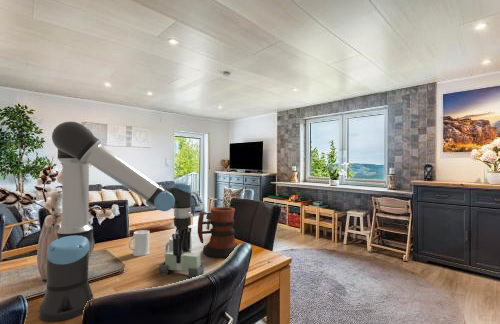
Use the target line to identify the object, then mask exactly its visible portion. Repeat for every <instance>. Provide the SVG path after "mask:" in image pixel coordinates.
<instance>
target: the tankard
mask: <svg viewBox="0 0 500 324" xmlns="http://www.w3.org/2000/svg"><path fill="white" fill-rule="evenodd" d="M235 211H236V209H235V208H234V207H228V206H215V207H211V208H210V215H211V216H210V217H211V219H210V221H204V217H205V211H203V210H202V211H199V214H198V215H199V216H198V219H197V220H198V221H197V236H198V238H199V241H200V243H201V244H204V237H203V236H204V235H206V234H207V235H208V234H211V235H210V238H209V241H208V242H207V243H206V244H205V245H204V246H203V248H202V255H204V256H205V257H207V258H212V259H215V260H216V259H219V260H220V259H226V258H227V257H228V256H229V254H230V253H231V252H232V251H233V250H234V248H235V247H236V246H237V245H239V244H238V243H237V242H236V239H235V228H233V226H234V225H235V219H234V217H235ZM204 225H212V228H210V229H209V230H204V229H203V227H204ZM227 259H228V258H227Z"/></svg>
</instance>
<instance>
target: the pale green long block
mask: <svg viewBox="0 0 500 324" xmlns="http://www.w3.org/2000/svg"><path fill="white" fill-rule="evenodd" d="M182 255H183V270H176V256H174V255H173V252H172V251H169V250H168V252H167V253H166V252H165V253H164V262H165V265H168V271H169V270H170V271H178V272H179V271H180V272H187V273H189V268H190V269H198V268H199V267H200V264H201V254H200V253H192V252H191V253H183V252H182Z"/></svg>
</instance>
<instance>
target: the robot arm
mask: <svg viewBox="0 0 500 324" xmlns="http://www.w3.org/2000/svg"><path fill="white" fill-rule="evenodd" d="M51 141H52V143H53V145H54V146H55V148H57V161H59V162H60V163H61V164H62V174H61V175H62V178H61V179H62V185H61V188H62V189H61V190H62V191H61V192H62V195H61V196H62V198H61V199H62V200H61V205H62V208H61V213H62V214H61V219H62V220H61V227H60V228H59V229H57V230H56V231H57V232H56V239H55V240H53V241H51V242H50V244H49V245H48V247H47V251H46V258H47V259H46V290H45V291H46V292H45V293H44V296H43V299H42V302H41V305H40V306H39V309H38V310H39V311H38V318H39V319H40V320H41V321H42V322H43V321H44V322H48V321H51V322H52V321H54V322H61V321H66V320H70V319H73V318H76V317H78V316H80V315H83V314H84V313H83V310H84V307H85V305H86V303H87V301H89V300H91V299H93V300H94V294H93V292H92V288H91V286H90V284H89V261H90V257H91V255H92V253H93V251H94V249H95V239H94V227H93V225H91V224H90V221H89V219H90V217H89V214H90V213H89V212H90V210H89V208H90V207H89V206H90V204H89V201H90V200H89V199H90V198H89V197H90V195H89V191H90V190H89V189H90V187H89V186H90V185H89V184H90V174H89V173H90V165H91V166H93V168H94V167H95V168H96V169H97V170H99V171H101V173H103V174H104V175H106V176H108V177H110V178H111V179H112V180H114V181H116V182H117V183H119V184H120V185H122V186H124V187H125V188H126V189H127V190H130V191H131V192H132V193H134V194H135V195H138V196H139V197H140V198H141V199H144V201H145V205H146V206H148V207H149V206H150V207H151V206H153V207H155V209H156V210H158V211H160V212H167V211H170V210H171V209H172V208H173V226H174V227H176V229H175V233H172V235H171V237H172V238H173V255H174V256H176V270H175V271H178V270H183V255H182V251H183V253H187V252H189V251H190V250H188V249H190V240H191V237H192V236H191V234H192V227H190V226H191V225H192V217H191V215H192V205H191V204H192V185H191V183H189V182H176V183H174V185H173V186H172V187H163V186H161V185H159V184H158V183H157V182H155V181H154V180H152V179H151V178H149V177H148V176H147V175H145V174H143V173H142V172H141V171H140V170H138V169H137V168H135V167H134V166H133V165H131V164H129V163H127V161H126V160H124V159H122V158H121V157H120V156H119V155H116V154H115V153H114V152H112V151H111V150H109V149H108V148H106V147H105V146H104V145H102V143H101V140H100V139H99V138H97V137H96V136H95V135H94V134H93V132H92V131H91V130H90V129H89V128H87V127H86V126H84V125H83V123H80V122H76V121H66V122H61V123H59V124H58V125H56V127H54V129H53V131H52V133H51Z"/></svg>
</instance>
